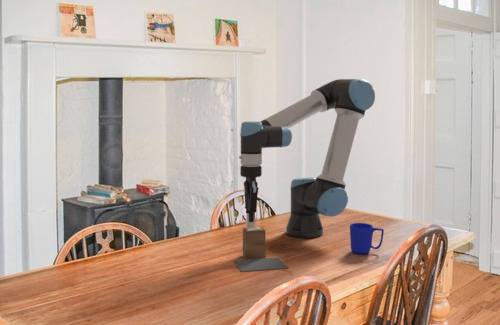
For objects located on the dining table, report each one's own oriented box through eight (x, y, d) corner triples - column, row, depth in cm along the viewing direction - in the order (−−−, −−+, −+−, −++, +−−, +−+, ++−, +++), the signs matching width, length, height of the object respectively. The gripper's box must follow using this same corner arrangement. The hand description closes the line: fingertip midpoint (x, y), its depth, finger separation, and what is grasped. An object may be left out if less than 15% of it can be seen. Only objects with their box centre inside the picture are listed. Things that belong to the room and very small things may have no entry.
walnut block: (242, 255, 205) (242, 227, 204) (261, 254, 207) (261, 226, 206) (245, 259, 200) (245, 231, 199) (265, 258, 202) (265, 229, 201)
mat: (233, 261, 198) (233, 260, 198) (278, 258, 202) (278, 257, 202) (241, 271, 187) (241, 271, 187) (288, 268, 191) (288, 267, 191)
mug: (383, 256, 204) (384, 229, 203) (348, 254, 206) (349, 227, 205) (382, 250, 212) (383, 224, 211) (349, 248, 214) (350, 222, 213)
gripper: (237, 163, 209) (236, 226, 212) (244, 167, 197) (244, 235, 200) (257, 162, 211) (256, 225, 214) (265, 167, 198) (265, 234, 201)
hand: (250, 230), depth 207 cm, fingers closed
